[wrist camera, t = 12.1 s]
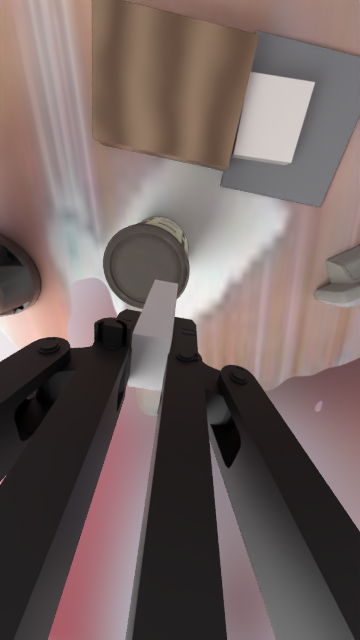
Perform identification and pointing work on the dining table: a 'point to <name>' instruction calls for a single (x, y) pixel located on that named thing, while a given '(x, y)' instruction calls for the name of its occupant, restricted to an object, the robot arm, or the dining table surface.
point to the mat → (318, 126)
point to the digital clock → (342, 280)
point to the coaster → (271, 118)
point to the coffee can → (146, 259)
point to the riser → (167, 82)
